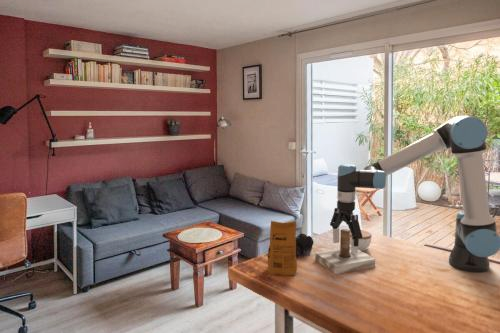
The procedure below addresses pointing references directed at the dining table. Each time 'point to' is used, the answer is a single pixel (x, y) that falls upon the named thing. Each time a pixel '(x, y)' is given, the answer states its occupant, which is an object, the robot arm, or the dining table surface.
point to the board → (344, 261)
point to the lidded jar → (363, 240)
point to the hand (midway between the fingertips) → (344, 247)
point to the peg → (345, 243)
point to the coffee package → (282, 249)
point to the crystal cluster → (303, 245)
